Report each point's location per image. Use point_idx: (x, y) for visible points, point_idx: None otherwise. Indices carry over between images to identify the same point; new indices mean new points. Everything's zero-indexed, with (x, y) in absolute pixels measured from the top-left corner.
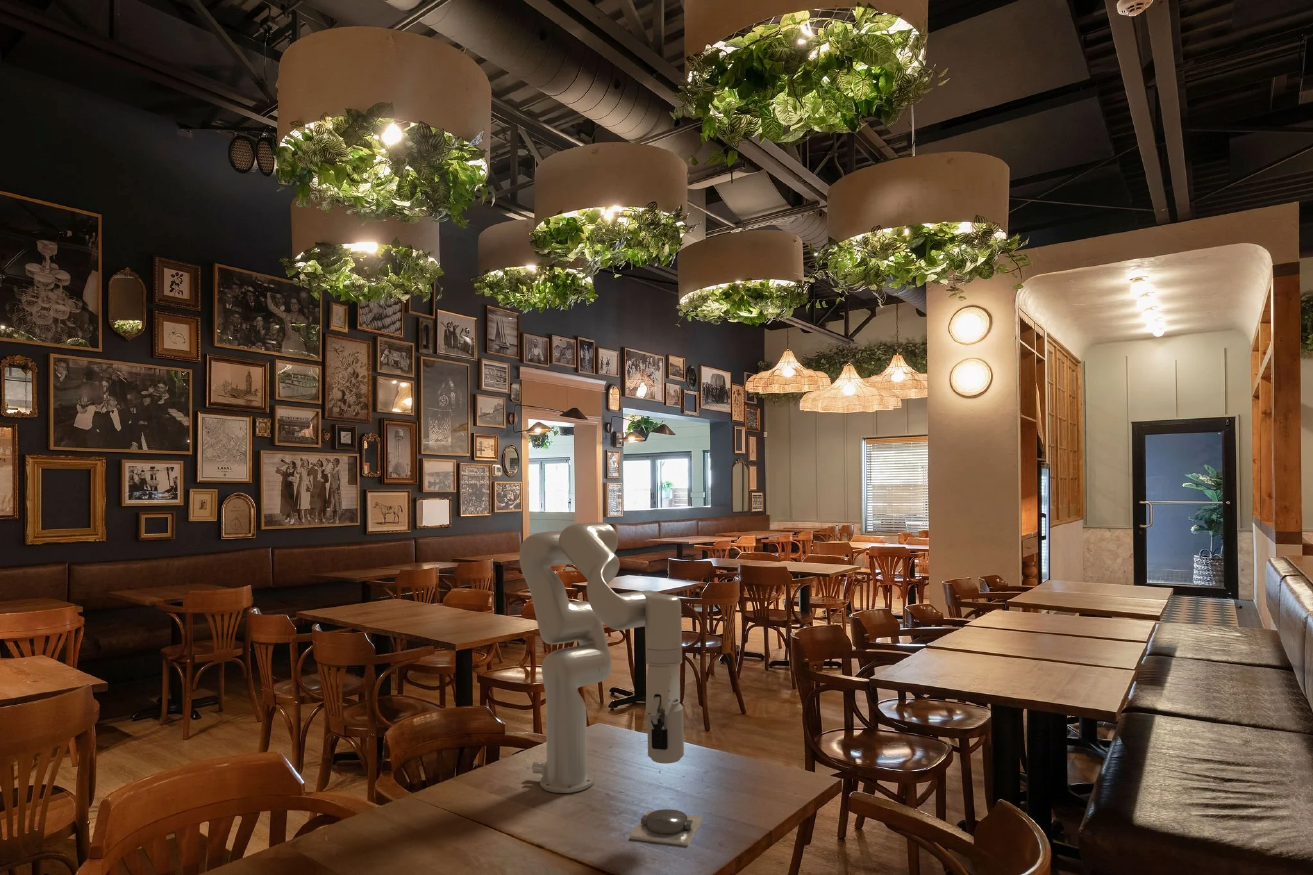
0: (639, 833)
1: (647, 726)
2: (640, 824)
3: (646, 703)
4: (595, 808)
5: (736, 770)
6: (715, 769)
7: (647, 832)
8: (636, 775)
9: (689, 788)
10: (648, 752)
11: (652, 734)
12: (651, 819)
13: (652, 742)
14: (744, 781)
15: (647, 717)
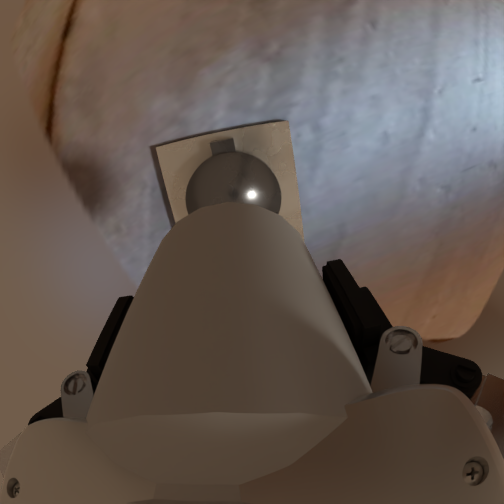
0: (171, 161)
1: (167, 285)
2: (212, 139)
3: (2, 486)
4: (266, 3)
5: (499, 211)
6: (500, 177)
7: (184, 173)
8: (450, 38)
9: (434, 156)
10: (169, 233)
11: (100, 343)
12: (207, 173)
13: (113, 314)
14: (469, 239)
15: (118, 357)
